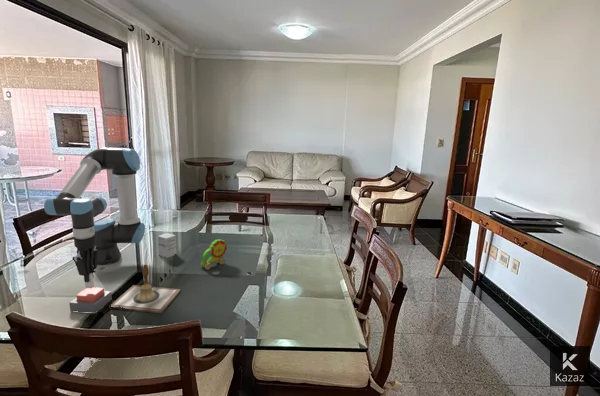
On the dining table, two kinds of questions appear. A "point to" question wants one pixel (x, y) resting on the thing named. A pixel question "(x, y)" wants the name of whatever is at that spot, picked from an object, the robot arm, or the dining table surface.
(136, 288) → the drawing board
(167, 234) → the supplement box
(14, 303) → the dining table surface
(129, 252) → the dining table surface
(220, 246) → the toy lion
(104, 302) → the button housing
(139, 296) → the hand bell
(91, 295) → the button
